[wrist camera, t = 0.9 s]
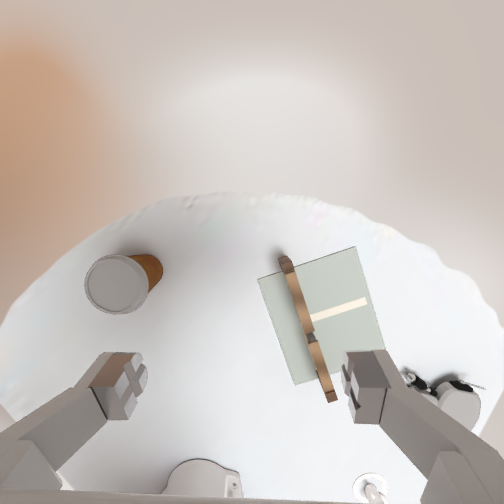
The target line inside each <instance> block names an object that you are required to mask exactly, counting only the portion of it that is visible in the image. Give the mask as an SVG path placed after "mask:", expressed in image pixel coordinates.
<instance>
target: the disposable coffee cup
mask: <svg viewBox="0 0 504 504" xmlns="http://www.w3.org/2000/svg"><path fill="white" fill-rule="evenodd" d="M162 274H163V267H162V265H161V263H160V261H159V260H158V259H157V258H155V257H154V256H152V255H133V256H123V255H108V256H104V257H102V258H100V259H99V260H97V261H96V262H95V263H94V264H93V265H92V267H91V268H90V269H89V271H88V272H87V274H86V277H85V284H84V286H85V292H86V295H87V297H88V299H89V300H90V302H91V303H92V304H93V305H94V306H95V307H96V308H97V309H99V310H101V311H103V312H105V313H109V314H127V313H130V312H133V311H134V310H136V309H137V308H139V307H140V306H141V305H142V303H143V302H144V301H145V299H146V297H147V294H148V293H149V292H150V291H151V290H152V288H153V287H154V286H155V285H156V284H157V283H158V282H159V280H160V279H161V277H162Z"/></svg>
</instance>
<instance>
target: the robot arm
mask: <svg viewBox="0 0 504 504" xmlns="http://www.w3.org/2000/svg"><path fill="white" fill-rule="evenodd" d="M342 359H343V362H344V364H343V365H342V366H341V379H342V384H343V388H344V392H345V394H346V395H348V396H349V403H348V405H349V408H350V412H351V415H352V418H353V421H354V423H357V424H379V425H380V427H381V428H382V429H383V430H384V432H385V433H386V434H387V435H388V436H389V437H390V438H391V439H392V440H393V442H394V443H395V444H396V445H397V446H398V447H399V448H400V449H401V451H402V452H403V453H404V454H405V455H406V456H407V457H408V458H409V460H410V461H411V462H412V463H413V464H414V465H415V466H416V467H417V468H418V470H419V471H420V472H421V473H422V474H423V475H424V476H425V477H426V479H427V480H428V482H427V484H426V487H425V489H424V492H423V494H422V497H421V499H420V501H421V504H504V460H503V458H502V457H501V456H500V454H499V453H498V452H497V450H495V449H494V448H492V447H491V446H490V445H488V444H487V443H486V442H484V441H483V440H482V439H480V438H479V437H478V436H476V435H475V434H474V433H472V432H471V431H470V430H468V429H467V428H466V427H464V426H463V425H461V424H460V423H459V422H457V421H456V420H455V419H453V418H452V417H451V416H449V415H448V414H447V413H445V412H444V411H443V410H441V409H440V408H439V407H437V406H436V405H435V404H433V403H432V402H430V401H429V400H428V399H426V398H425V397H424V396H422V395H421V394H420V393H418V392H417V391H416V390H414V389H409V388H408V386H407V385H406V383H405V381H404V379H403V378H402V376H401V374H400V372H399V371H398V369H397V367H396V365H395V364H394V362H393V360H392V359H391V357H390V355H389V353H388V352H387V351H386V350H385V349H384V350H344V351H343V354H342ZM142 361H143V358H142V355H141V353H125V352H115V353H113V352H104V353H102V354H101V355H99V357H98V358H97V359H96V360H95V362H94V363H93V364H92V365H91V367H90V368H89V369H88V370H87V372H86V373H85V374H84V375H83V377H82V378H81V379H80V380H79V382H78V383H77V384H76V385H75V387H74V388H69V389H67V390H66V391H64V392H63V393H61V394H60V395H58V396H56V397H55V398H53V399H52V400H50V401H49V402H47V403H46V404H44V405H43V406H41V407H40V408H38V409H36V410H35V411H33V412H32V413H30V414H29V415H27V416H26V417H24V418H23V419H21V420H20V421H18V422H16V423H15V424H13V425H12V426H10V427H9V428H7V429H6V430H4V431H3V432H1V433H0V504H366V503H344V502H321V501H298V500H276V499H253V498H243V493H242V487H241V481H240V476H239V474H238V473H237V472H234V471H230V470H226V469H224V468H222V467H220V466H219V465H217V464H215V463H213V462H210V461H207V460H191V461H187V462H185V463H182V464H181V465H179V466H178V467H176V468H175V469H174V471H173V472H172V473H171V475H170V477H169V480H168V485H167V487H166V488H165V490H164V491H163V492H162V494H138V493H115V492H92V491H69V490H68V491H67V490H60V489H61V487H62V481H61V479H60V478H59V476H58V475H57V473H56V471H57V470H58V469H59V468H60V467H61V466H62V465H63V464H64V463H65V462H66V461H67V460H68V459H69V458H70V457H71V456H72V455H73V454H74V453H75V452H76V451H77V450H78V449H79V448H81V447H82V446H83V445H84V444H85V443H86V442H87V441H88V440H89V439H90V438H91V437H92V436H93V435H94V434H95V433H96V432H97V431H98V430H99V429H100V428H101V427H102V426H103V425H104V424H105V423H106V422H107V420H129V418H130V416H131V414H132V412H133V410H134V408H135V406H136V404H137V398H136V397H137V396H139V395H140V394H141V393H142V392H143V391H144V388H145V386H146V383H147V379H148V372H147V369H146V367H145V366H144V365H143V364H141V362H142Z"/></svg>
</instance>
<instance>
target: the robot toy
mask: <svg viewBox="0 0 504 504" xmlns="http://www.w3.org/2000/svg"><path fill="white" fill-rule="evenodd" d="M408 375H409V377H408V376H407V375H406V379H407V380H408V381H409V382H411V384H413V385H414V386H411V387H408V388H409V389H414V390H416V391H417V392H418V393H420V394H421V395H422V396H424V397H425V398H426V399H428V400H429V401H430V402H432V403H433V404H435V405H436V406H437V407H439V408H440V409H441V410H443V411H444V412H445V413H447V414H448V415H449V416H451V417H452V418H453V419H455V420H456V421H457V422H459V423H460V424H461V425H463V426H464V427H466V428H467V429H468V430H470V431H471V430H472V429H473V427H474V426H475V424H476V422H477V420H478V419H479V415H480V408H481V401H480V398H479V395H478V394H477V393H475V392H474V391H473V388H471V387H470V386H469V385H471V386H474V387H478V388H481V389H483V390H486V389H485V388H484V387H480V386H476V385H473V384H470V383H467V382H464V381H462V380H460V381H450V382H447V381H446V382H444V383H442V384H440V385H439V386H438V387H437V388H436V390H434V389H433V388H431V387H429V388H428V387H427V385H426V383H425V382H424V381H423V380H422V379H420V378H419V377H418V376H416V375H414V374H413V373H408Z"/></svg>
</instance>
